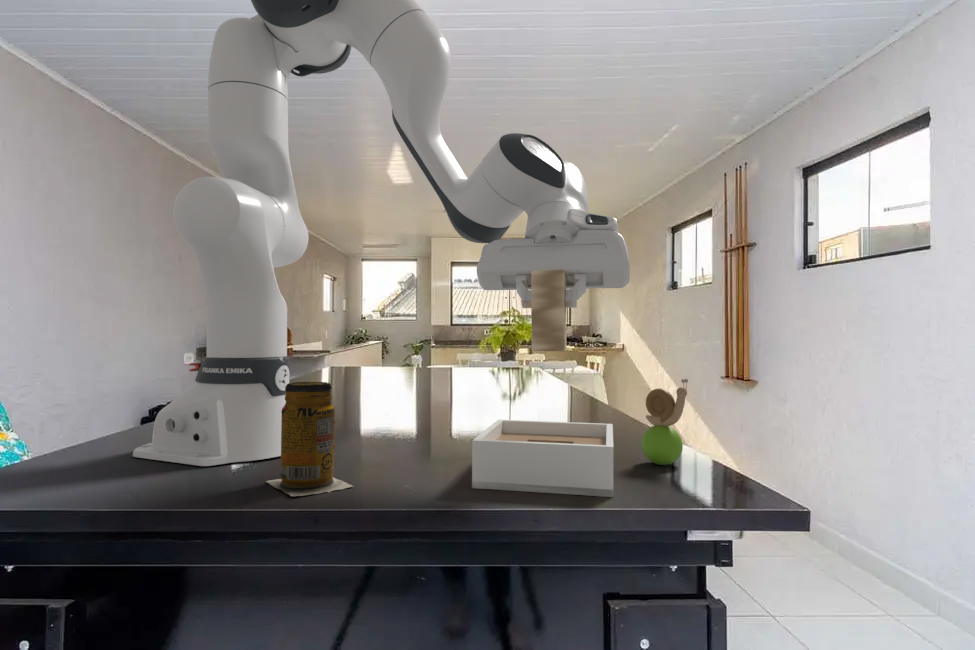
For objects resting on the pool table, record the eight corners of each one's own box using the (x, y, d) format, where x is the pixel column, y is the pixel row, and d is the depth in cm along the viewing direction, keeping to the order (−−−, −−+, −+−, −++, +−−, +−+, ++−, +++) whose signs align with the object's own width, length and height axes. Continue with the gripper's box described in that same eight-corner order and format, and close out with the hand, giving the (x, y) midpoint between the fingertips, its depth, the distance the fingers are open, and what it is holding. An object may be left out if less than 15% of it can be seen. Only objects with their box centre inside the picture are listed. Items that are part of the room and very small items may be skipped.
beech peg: (531, 351, 71) (531, 270, 71) (535, 350, 75) (535, 273, 75) (564, 351, 70) (563, 269, 70) (566, 350, 74) (565, 273, 74)
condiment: (323, 473, 73) (324, 379, 73) (353, 488, 66) (354, 384, 66) (265, 483, 68) (266, 382, 68) (291, 499, 62) (292, 388, 62)
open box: (472, 488, 66) (472, 440, 66) (498, 458, 82) (498, 419, 82) (613, 497, 63) (613, 446, 63) (612, 463, 78) (612, 423, 79)
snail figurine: (675, 472, 74) (675, 379, 74) (633, 464, 79) (633, 376, 79) (696, 466, 77) (697, 377, 77) (655, 458, 82) (655, 374, 82)
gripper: (481, 223, 82) (464, 286, 72) (628, 217, 77) (631, 283, 68) (487, 258, 86) (472, 322, 76) (627, 254, 82) (630, 321, 72)
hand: (548, 304), depth 72 cm, fingers closed on beech peg, 4 cm apart
